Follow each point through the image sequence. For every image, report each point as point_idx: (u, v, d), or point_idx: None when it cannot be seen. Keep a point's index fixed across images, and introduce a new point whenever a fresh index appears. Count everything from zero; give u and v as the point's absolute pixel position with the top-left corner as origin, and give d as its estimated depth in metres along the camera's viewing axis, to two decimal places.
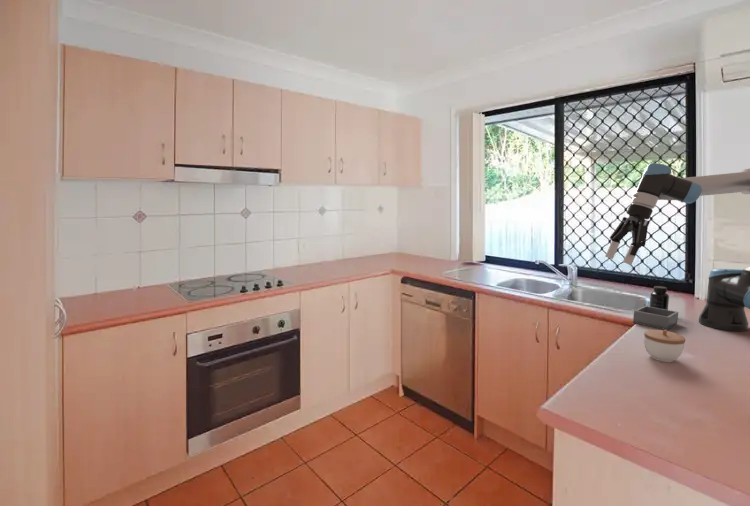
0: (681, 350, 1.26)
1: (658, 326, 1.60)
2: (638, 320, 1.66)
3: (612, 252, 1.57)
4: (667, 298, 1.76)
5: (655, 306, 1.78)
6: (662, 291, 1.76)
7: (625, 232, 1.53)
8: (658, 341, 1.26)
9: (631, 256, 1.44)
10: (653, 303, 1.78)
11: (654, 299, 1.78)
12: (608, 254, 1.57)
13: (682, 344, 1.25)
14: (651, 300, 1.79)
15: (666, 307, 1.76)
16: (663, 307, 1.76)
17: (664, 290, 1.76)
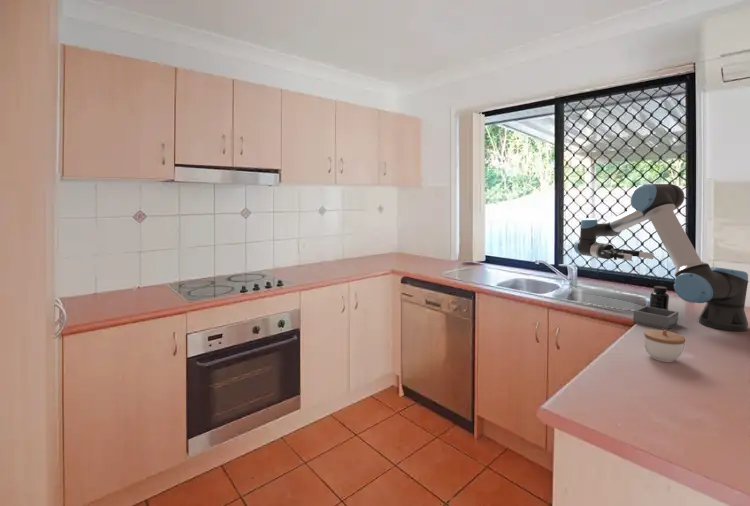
0: (681, 350, 1.26)
1: (658, 326, 1.60)
2: (638, 320, 1.66)
3: (647, 255, 1.90)
4: (667, 298, 1.76)
5: (655, 306, 1.78)
6: (662, 291, 1.76)
7: (626, 252, 1.97)
8: (658, 341, 1.26)
9: (624, 256, 1.86)
10: (653, 303, 1.78)
11: (654, 299, 1.78)
12: (649, 257, 1.89)
13: (682, 344, 1.25)
14: (651, 300, 1.79)
15: (666, 307, 1.76)
16: (663, 307, 1.76)
17: (664, 290, 1.76)
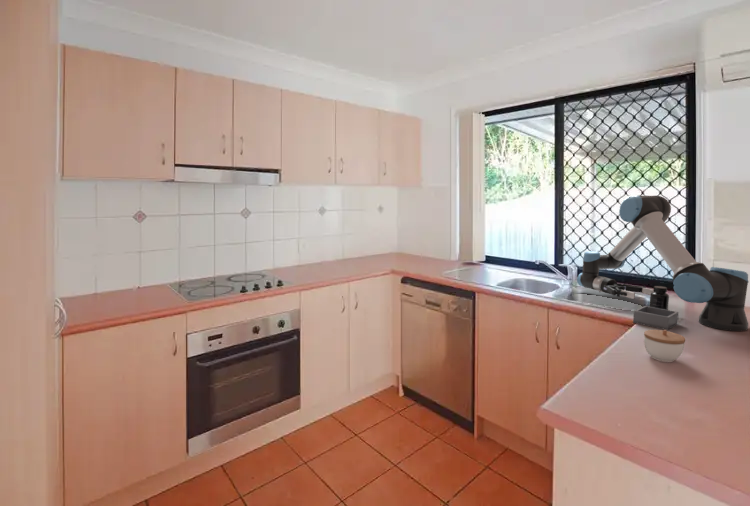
0: (681, 350, 1.26)
1: (658, 326, 1.60)
2: (638, 320, 1.66)
3: (650, 291, 1.90)
4: (667, 298, 1.76)
5: (655, 306, 1.78)
6: (662, 291, 1.76)
7: (629, 288, 1.97)
8: (658, 341, 1.26)
9: (627, 294, 1.86)
10: (653, 303, 1.78)
11: (654, 299, 1.78)
12: None
13: (682, 344, 1.25)
14: (651, 300, 1.79)
15: (666, 307, 1.76)
16: (663, 307, 1.76)
17: (664, 290, 1.76)
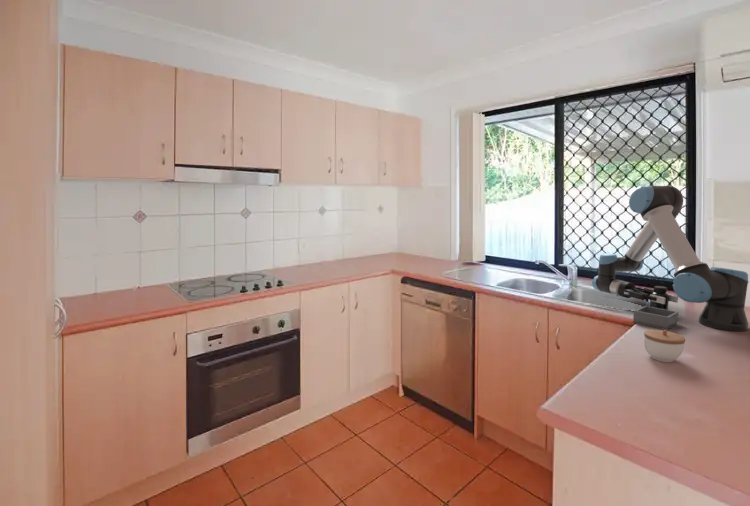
0: (681, 350, 1.26)
1: (658, 326, 1.60)
2: (638, 320, 1.66)
3: (671, 297, 1.78)
4: (667, 298, 1.76)
5: (655, 306, 1.78)
6: (662, 291, 1.76)
7: (648, 292, 1.86)
8: (658, 341, 1.26)
9: (657, 299, 1.76)
10: (653, 303, 1.78)
11: None
12: (673, 300, 1.77)
13: (682, 344, 1.25)
14: None
15: (666, 307, 1.76)
16: (663, 307, 1.76)
17: (664, 290, 1.76)
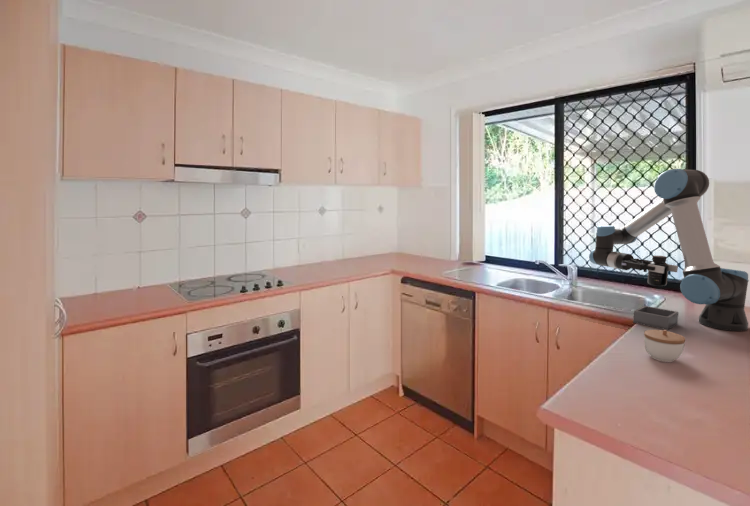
0: (681, 350, 1.26)
1: (658, 326, 1.60)
2: (638, 320, 1.66)
3: (670, 267, 1.69)
4: (666, 267, 1.67)
5: (654, 276, 1.69)
6: (661, 260, 1.68)
7: (647, 263, 1.78)
8: (658, 341, 1.26)
9: (656, 268, 1.67)
10: (651, 273, 1.70)
11: None
12: (673, 270, 1.68)
13: (682, 344, 1.25)
14: None
15: (665, 277, 1.68)
16: (662, 277, 1.68)
17: (663, 259, 1.68)
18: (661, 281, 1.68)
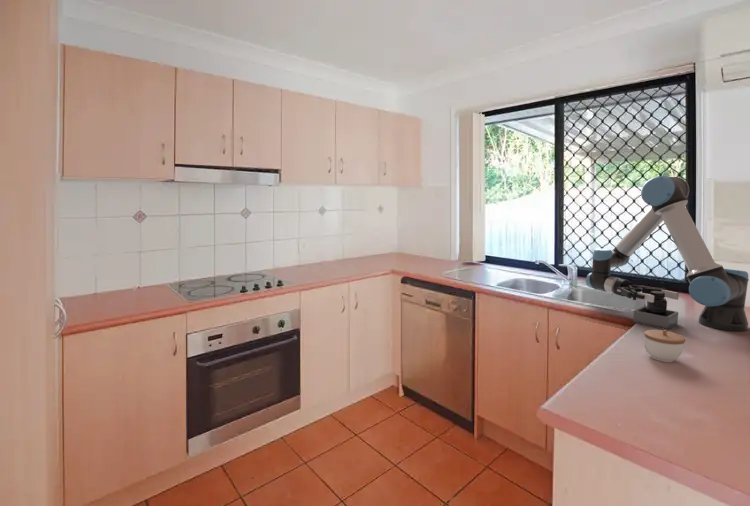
0: (681, 350, 1.26)
1: (658, 326, 1.60)
2: (638, 320, 1.66)
3: (671, 294, 1.66)
4: (665, 304, 1.62)
5: (652, 313, 1.64)
6: (660, 296, 1.63)
7: (646, 290, 1.73)
8: (658, 341, 1.26)
9: (645, 297, 1.62)
10: (649, 309, 1.65)
11: (651, 305, 1.64)
12: (674, 297, 1.65)
13: (682, 344, 1.25)
14: (648, 306, 1.66)
15: (664, 314, 1.63)
16: (661, 314, 1.63)
17: (662, 295, 1.63)
18: None
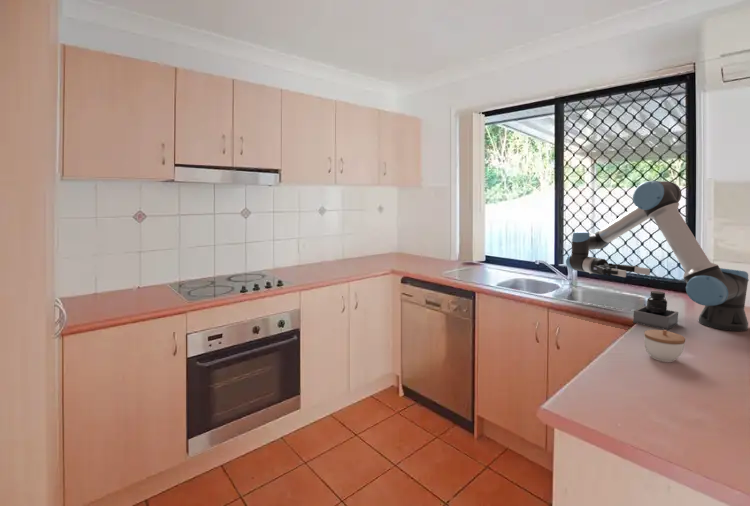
0: (681, 350, 1.26)
1: (658, 326, 1.60)
2: (638, 320, 1.66)
3: (643, 270, 1.77)
4: (665, 304, 1.62)
5: (652, 313, 1.64)
6: (660, 296, 1.63)
7: (621, 267, 1.84)
8: (658, 341, 1.26)
9: (618, 272, 1.73)
10: (649, 309, 1.65)
11: (651, 305, 1.64)
12: (645, 273, 1.76)
13: (682, 344, 1.25)
14: (648, 306, 1.66)
15: (664, 314, 1.63)
16: (661, 314, 1.63)
17: (662, 295, 1.62)
18: None
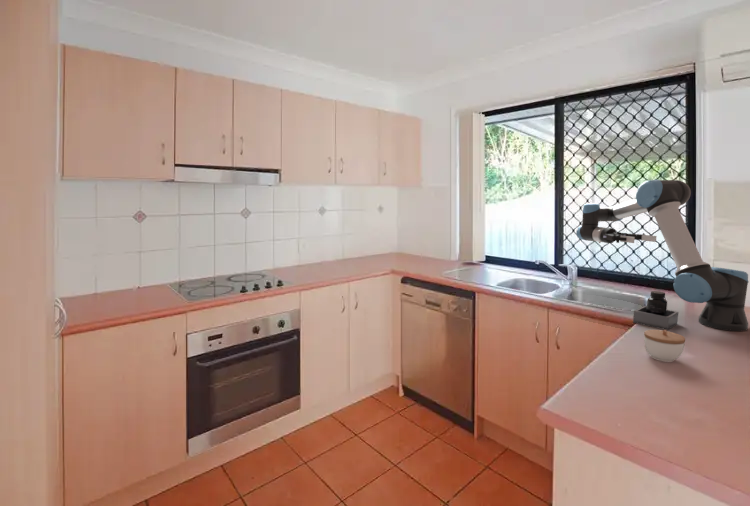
0: (681, 350, 1.26)
1: (658, 326, 1.60)
2: (638, 320, 1.66)
3: (650, 237, 1.89)
4: (665, 304, 1.62)
5: (652, 313, 1.64)
6: (660, 296, 1.63)
7: (629, 236, 1.96)
8: (658, 341, 1.26)
9: (627, 238, 1.85)
10: (649, 309, 1.65)
11: (651, 305, 1.64)
12: (652, 240, 1.88)
13: (682, 344, 1.25)
14: (648, 306, 1.66)
15: (664, 314, 1.63)
16: (661, 314, 1.63)
17: (662, 295, 1.62)
18: None
